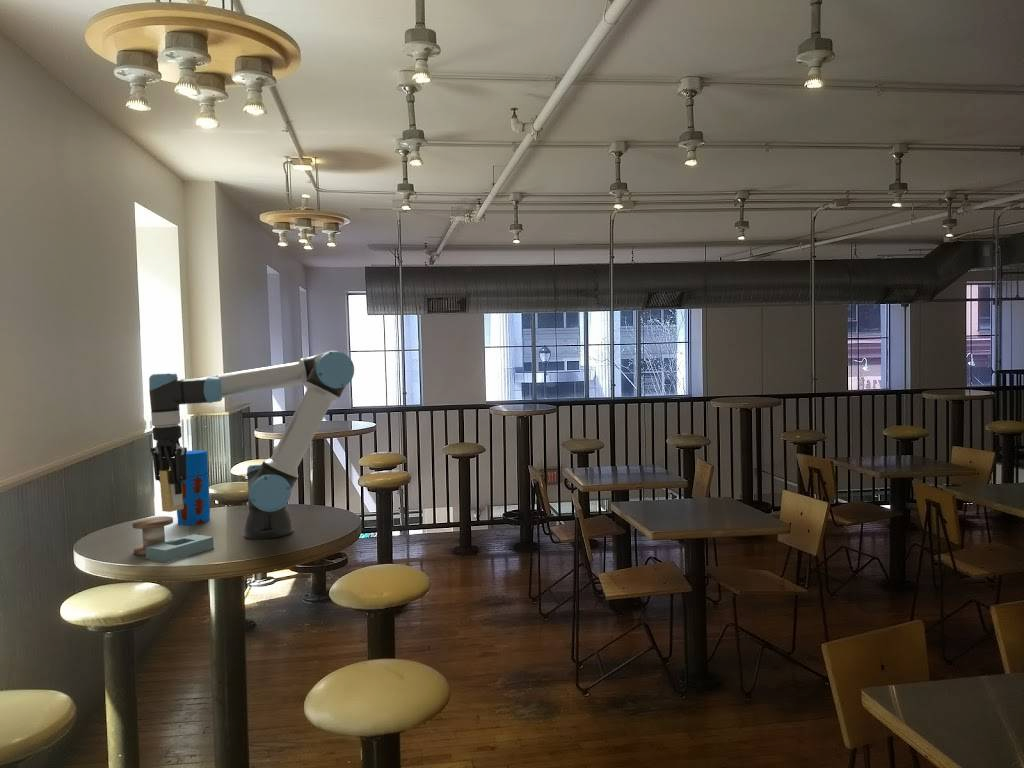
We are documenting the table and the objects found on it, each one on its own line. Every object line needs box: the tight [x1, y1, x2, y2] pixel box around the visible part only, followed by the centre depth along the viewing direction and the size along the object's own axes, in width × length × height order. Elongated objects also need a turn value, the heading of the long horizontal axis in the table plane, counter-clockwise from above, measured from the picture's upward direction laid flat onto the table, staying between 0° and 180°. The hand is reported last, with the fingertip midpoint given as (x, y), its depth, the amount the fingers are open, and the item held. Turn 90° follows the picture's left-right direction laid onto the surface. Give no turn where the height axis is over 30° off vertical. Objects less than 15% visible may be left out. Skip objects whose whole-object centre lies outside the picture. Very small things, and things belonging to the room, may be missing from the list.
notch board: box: [145, 533, 215, 563], centre depth 209 cm, size 16×9×4 cm, turn 151°
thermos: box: [176, 449, 211, 526], centre depth 251 cm, size 11×11×25 cm
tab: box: [159, 469, 184, 513], centre depth 207 cm, size 4×4×12 cm
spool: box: [131, 515, 174, 557], centre depth 213 cm, size 11×11×9 cm
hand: (172, 504), depth 207 cm, fingers closed on tab, 3 cm apart
